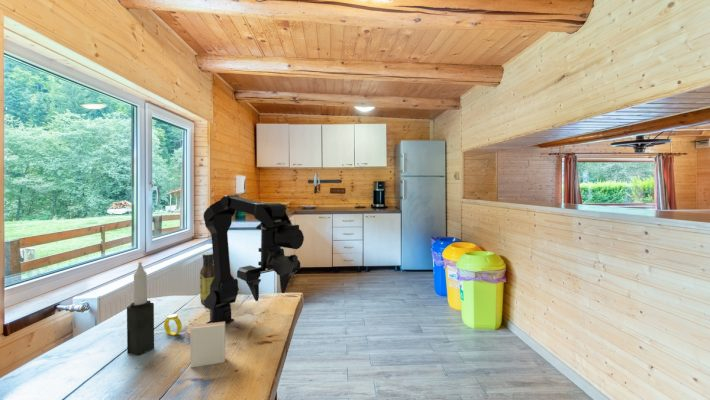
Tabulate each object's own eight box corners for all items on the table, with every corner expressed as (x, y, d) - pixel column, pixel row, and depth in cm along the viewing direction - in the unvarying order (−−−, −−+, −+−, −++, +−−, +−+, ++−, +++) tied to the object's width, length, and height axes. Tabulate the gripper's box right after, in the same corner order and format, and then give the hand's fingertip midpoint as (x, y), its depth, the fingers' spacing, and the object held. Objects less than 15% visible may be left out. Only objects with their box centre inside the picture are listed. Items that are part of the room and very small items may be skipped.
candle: (156, 347, 85) (155, 260, 85) (138, 356, 81) (137, 264, 80) (143, 344, 87) (142, 259, 86) (125, 352, 82) (124, 263, 82)
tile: (192, 363, 78) (192, 325, 77) (225, 358, 80) (225, 321, 80) (190, 367, 76) (190, 328, 75) (224, 362, 78) (224, 324, 78)
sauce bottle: (203, 299, 123) (203, 251, 123) (219, 298, 124) (219, 251, 124) (197, 305, 117) (197, 255, 116) (214, 304, 118) (214, 254, 117)
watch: (162, 335, 93) (161, 316, 93) (170, 331, 96) (169, 313, 96) (176, 337, 91) (175, 318, 91) (184, 333, 94) (183, 314, 94)
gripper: (258, 254, 77) (257, 313, 77) (312, 244, 91) (311, 295, 91) (236, 247, 84) (235, 302, 84) (289, 240, 98) (288, 287, 99)
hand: (270, 296), depth 89 cm, fingers open, 9 cm apart
